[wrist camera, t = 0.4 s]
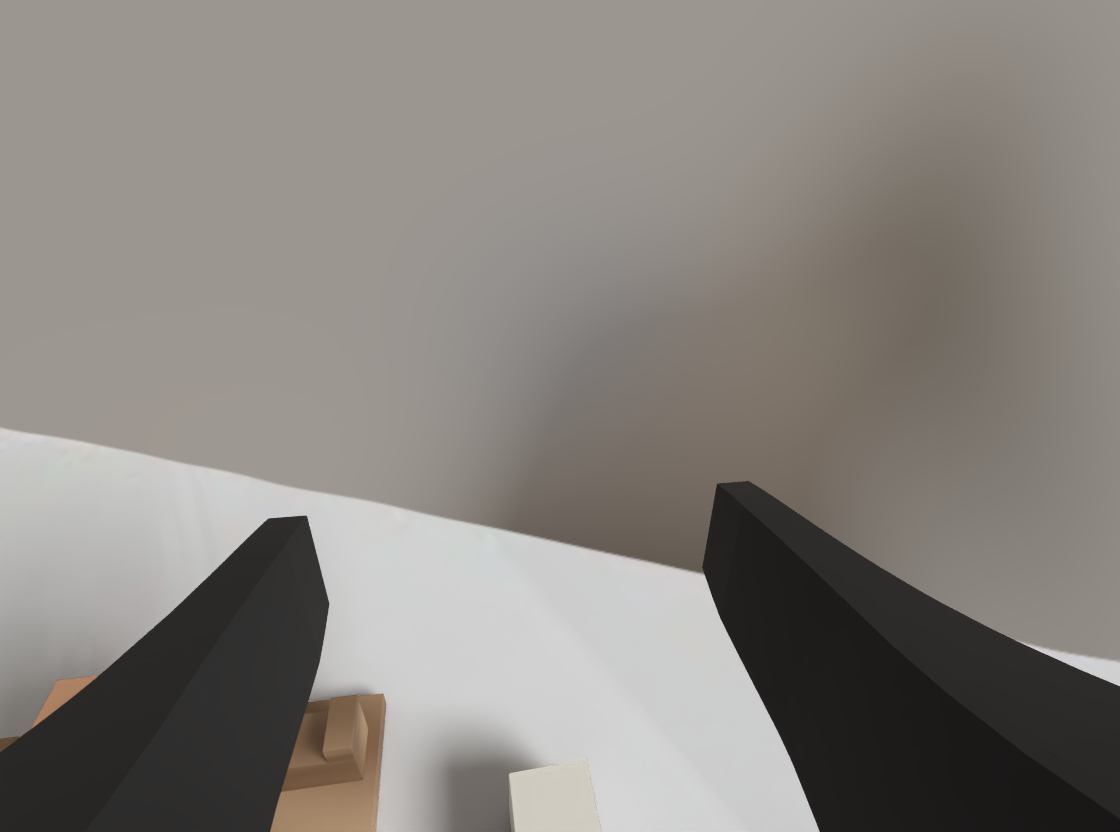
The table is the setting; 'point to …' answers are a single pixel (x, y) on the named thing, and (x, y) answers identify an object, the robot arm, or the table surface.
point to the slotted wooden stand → (331, 767)
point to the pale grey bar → (553, 799)
